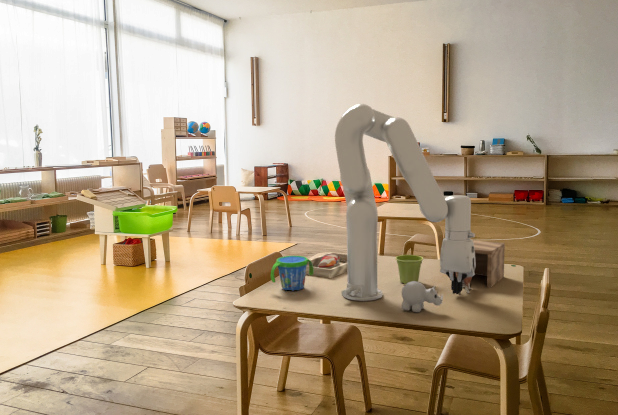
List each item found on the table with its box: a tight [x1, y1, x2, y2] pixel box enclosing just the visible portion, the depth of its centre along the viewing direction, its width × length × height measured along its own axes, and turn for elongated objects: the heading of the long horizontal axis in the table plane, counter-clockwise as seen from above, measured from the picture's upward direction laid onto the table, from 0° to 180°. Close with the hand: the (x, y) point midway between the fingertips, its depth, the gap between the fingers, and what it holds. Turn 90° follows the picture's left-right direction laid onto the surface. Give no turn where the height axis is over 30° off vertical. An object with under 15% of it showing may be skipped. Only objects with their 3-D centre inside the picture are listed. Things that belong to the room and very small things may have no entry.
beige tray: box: [306, 252, 347, 279], centre depth 209 cm, size 25×16×3 cm, turn 145°
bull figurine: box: [458, 270, 475, 295], centre depth 176 cm, size 4×13×8 cm, turn 152°
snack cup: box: [270, 255, 314, 292], centre depth 182 cm, size 16×11×10 cm
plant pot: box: [394, 254, 424, 285], centre depth 186 cm, size 9×9×9 cm
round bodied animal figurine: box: [401, 281, 444, 313], centre depth 156 cm, size 7×12×8 cm, turn 63°
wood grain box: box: [456, 239, 506, 288], centre depth 188 cm, size 15×12×12 cm
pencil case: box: [317, 253, 341, 269], centre depth 208 cm, size 11×20×5 cm, turn 159°
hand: (456, 292), depth 170 cm, fingers closed
